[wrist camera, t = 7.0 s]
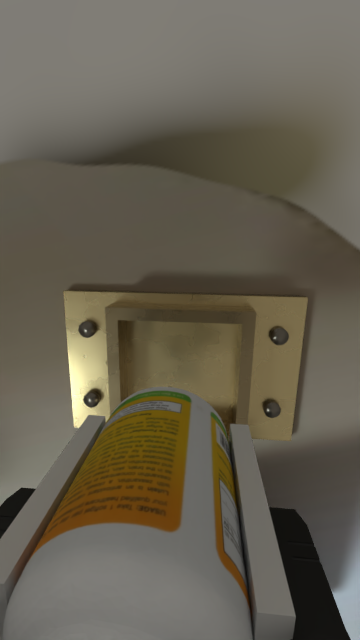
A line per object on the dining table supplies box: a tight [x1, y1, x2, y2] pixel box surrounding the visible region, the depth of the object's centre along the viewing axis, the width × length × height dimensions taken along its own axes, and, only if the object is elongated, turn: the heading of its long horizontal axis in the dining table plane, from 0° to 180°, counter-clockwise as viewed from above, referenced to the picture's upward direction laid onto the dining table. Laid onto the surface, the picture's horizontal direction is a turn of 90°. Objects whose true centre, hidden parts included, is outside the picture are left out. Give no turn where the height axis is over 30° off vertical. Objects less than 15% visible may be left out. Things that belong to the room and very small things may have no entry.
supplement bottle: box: [2, 387, 253, 640], centre depth 8 cm, size 5×5×10 cm
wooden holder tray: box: [63, 290, 308, 441], centre depth 21 cm, size 17×11×3 cm, turn 89°
